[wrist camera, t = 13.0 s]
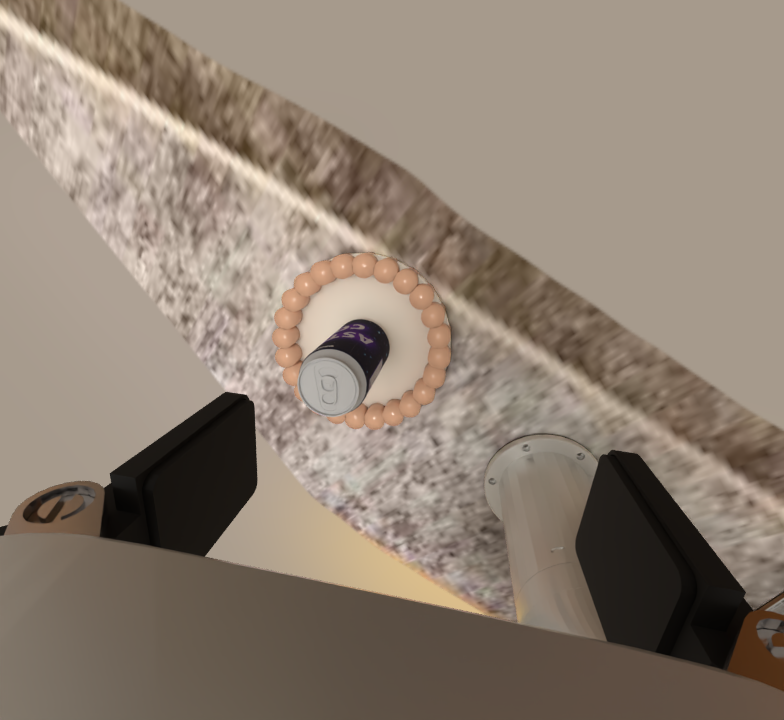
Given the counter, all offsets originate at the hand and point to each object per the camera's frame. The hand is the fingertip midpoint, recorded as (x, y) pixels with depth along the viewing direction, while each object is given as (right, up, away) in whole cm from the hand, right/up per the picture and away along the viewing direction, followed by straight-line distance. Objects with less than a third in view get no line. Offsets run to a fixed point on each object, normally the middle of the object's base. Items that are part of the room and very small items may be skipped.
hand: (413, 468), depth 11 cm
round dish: (-3, +5, +31) cm, 32 cm away
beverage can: (-3, +5, +31) cm, 31 cm away
